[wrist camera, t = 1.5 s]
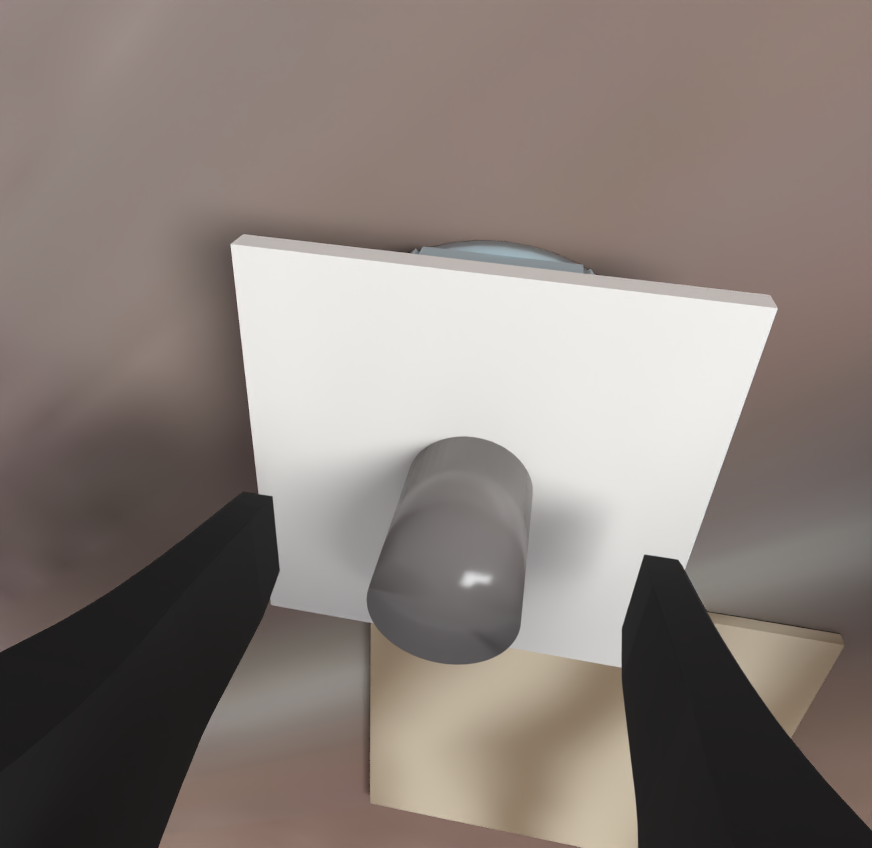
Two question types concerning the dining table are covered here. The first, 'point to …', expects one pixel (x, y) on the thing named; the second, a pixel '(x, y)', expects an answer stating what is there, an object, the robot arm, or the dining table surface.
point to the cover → (483, 438)
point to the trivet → (547, 731)
